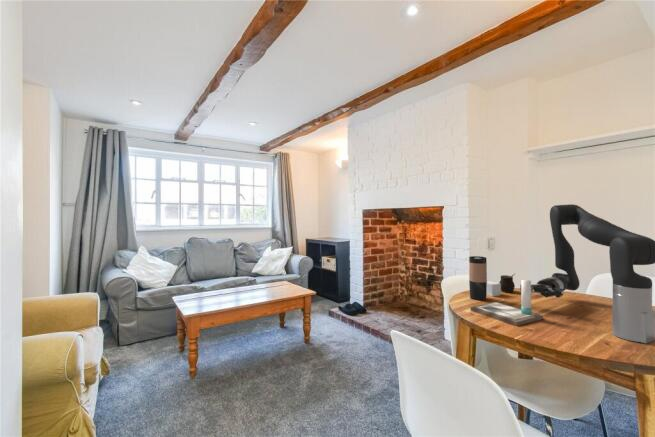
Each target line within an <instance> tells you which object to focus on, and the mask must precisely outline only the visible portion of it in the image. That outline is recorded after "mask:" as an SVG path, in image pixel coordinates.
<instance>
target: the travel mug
mask: <svg viewBox="0 0 655 437" xmlns="http://www.w3.org/2000/svg"><path fill="white" fill-rule="evenodd" d="M468 262H469V264H468V265H469V267H468V273H469V274H468V275H469V276H468V277H469V278H468V284H469V298H470V300H474V301H486V300H487V295H486V293H487V281H488V278H487V277H488V275H487V274H488V272H487V271H488V270H487V267H488V265H487V257H485V256H478V255H476V256H475V255H474V256H469V260H468Z"/></svg>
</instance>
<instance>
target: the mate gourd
mask: <svg viewBox="0 0 655 437" xmlns="http://www.w3.org/2000/svg"><path fill="white" fill-rule="evenodd" d="M515 274H516V273H513V274H512V275H508V274H507V275H506V274H505V275H504V274H503V275H500V281H499V282H498V283H501V292H503V293H512V292H514V291H515V287H516V286H515V283H514V276H515Z"/></svg>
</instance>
